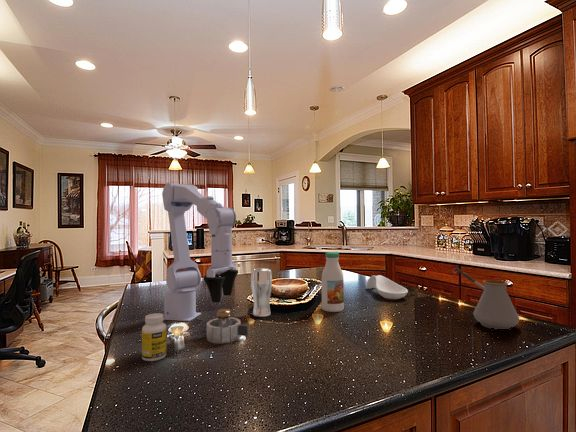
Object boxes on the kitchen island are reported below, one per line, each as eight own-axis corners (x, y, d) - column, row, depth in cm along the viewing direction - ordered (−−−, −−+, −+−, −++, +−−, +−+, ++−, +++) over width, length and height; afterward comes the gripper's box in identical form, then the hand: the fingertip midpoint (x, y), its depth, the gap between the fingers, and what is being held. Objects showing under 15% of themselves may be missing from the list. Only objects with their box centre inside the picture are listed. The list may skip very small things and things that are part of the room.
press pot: (200, 342, 86) (200, 326, 86) (215, 330, 95) (215, 316, 95) (241, 345, 84) (241, 329, 84) (252, 332, 92) (252, 318, 92)
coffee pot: (529, 330, 92) (529, 276, 92) (498, 334, 89) (497, 279, 89) (468, 309, 113) (468, 266, 113) (441, 312, 110) (440, 268, 110)
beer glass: (268, 317, 106) (268, 271, 106) (248, 316, 108) (247, 270, 108) (274, 311, 113) (274, 268, 113) (255, 310, 114) (255, 267, 114)
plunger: (208, 338, 87) (208, 313, 87) (218, 330, 93) (217, 307, 93) (230, 340, 86) (229, 314, 86) (238, 332, 92) (238, 308, 92)
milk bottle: (319, 311, 113) (318, 253, 113) (325, 305, 120) (324, 251, 120) (341, 313, 110) (340, 254, 110) (346, 307, 117) (345, 251, 117)
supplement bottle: (151, 364, 73) (151, 320, 73) (137, 358, 76) (136, 316, 76) (171, 355, 78) (171, 314, 78) (157, 350, 81) (156, 310, 81)
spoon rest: (414, 300, 126) (413, 282, 126) (386, 303, 123) (386, 284, 123) (381, 288, 149) (381, 272, 149) (358, 289, 146) (358, 273, 146)
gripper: (224, 253, 84) (224, 306, 84) (244, 247, 98) (244, 293, 98) (199, 253, 86) (199, 304, 86) (222, 247, 100) (222, 291, 100)
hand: (221, 298), depth 92 cm, fingers open, 7 cm apart
